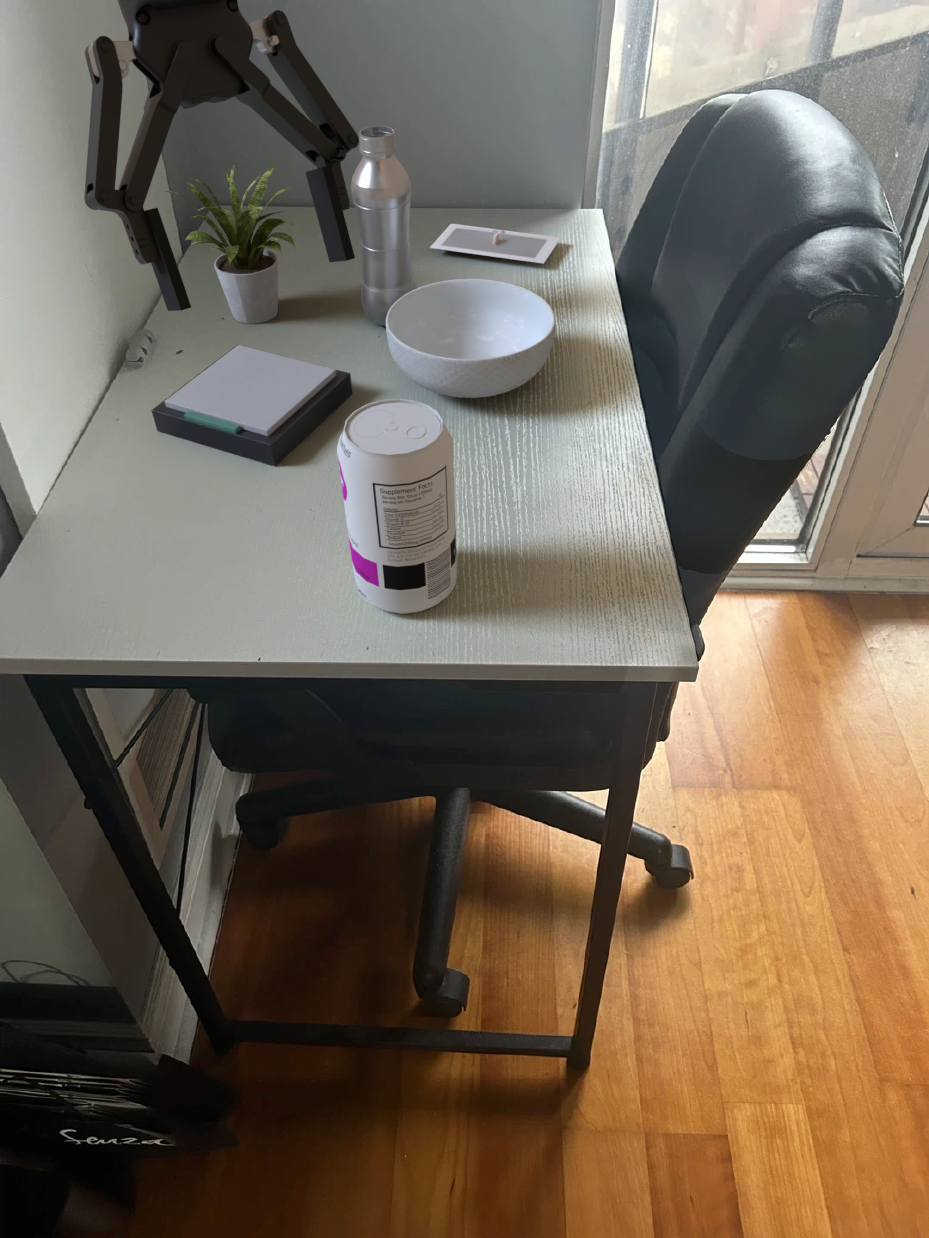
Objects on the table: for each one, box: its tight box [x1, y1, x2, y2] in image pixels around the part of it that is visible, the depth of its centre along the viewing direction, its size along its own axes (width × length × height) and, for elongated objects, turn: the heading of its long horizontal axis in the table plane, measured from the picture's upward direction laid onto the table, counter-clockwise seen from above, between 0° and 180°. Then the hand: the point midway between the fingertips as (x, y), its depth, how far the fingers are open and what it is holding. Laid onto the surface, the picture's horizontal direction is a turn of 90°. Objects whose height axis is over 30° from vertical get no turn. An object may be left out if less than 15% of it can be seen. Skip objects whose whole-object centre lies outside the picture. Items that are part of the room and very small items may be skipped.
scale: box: [151, 344, 354, 467], centre depth 94 cm, size 14×14×3 cm
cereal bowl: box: [385, 278, 557, 399], centre depth 96 cm, size 17×17×7 cm
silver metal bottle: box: [350, 125, 418, 327], centre depth 101 cm, size 6×7×20 cm
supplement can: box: [336, 398, 458, 615], centre depth 71 cm, size 8×8×15 cm
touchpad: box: [429, 223, 562, 265], centre depth 120 cm, size 8×15×2 cm, turn 70°
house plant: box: [159, 163, 296, 325], centre depth 103 cm, size 14×14×16 cm
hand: (264, 284), depth 69 cm, fingers open, 13 cm apart
